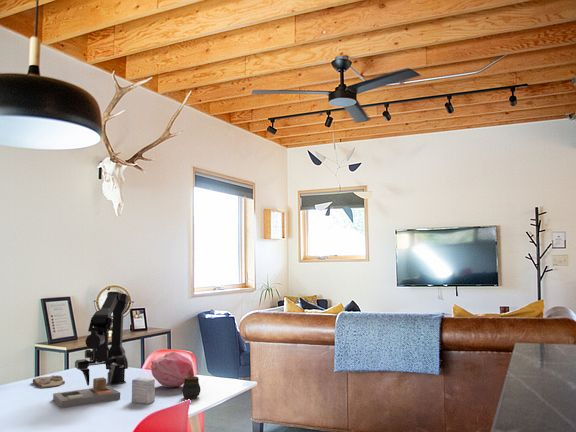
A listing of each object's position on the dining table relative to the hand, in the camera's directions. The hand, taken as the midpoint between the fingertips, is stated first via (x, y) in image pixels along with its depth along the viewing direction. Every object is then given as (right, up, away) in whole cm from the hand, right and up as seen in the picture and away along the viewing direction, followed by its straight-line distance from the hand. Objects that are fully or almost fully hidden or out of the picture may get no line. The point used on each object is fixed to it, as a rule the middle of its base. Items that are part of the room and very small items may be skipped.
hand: (99, 383), depth 216 cm
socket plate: (-3, -5, -5) cm, 8 cm away
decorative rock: (+26, -7, +16) cm, 31 cm away
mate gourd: (+37, -5, -2) cm, 38 cm away
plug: (0, -5, 0) cm, 5 cm away
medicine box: (+20, -5, -8) cm, 22 cm away
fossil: (-30, -7, +21) cm, 38 cm away
